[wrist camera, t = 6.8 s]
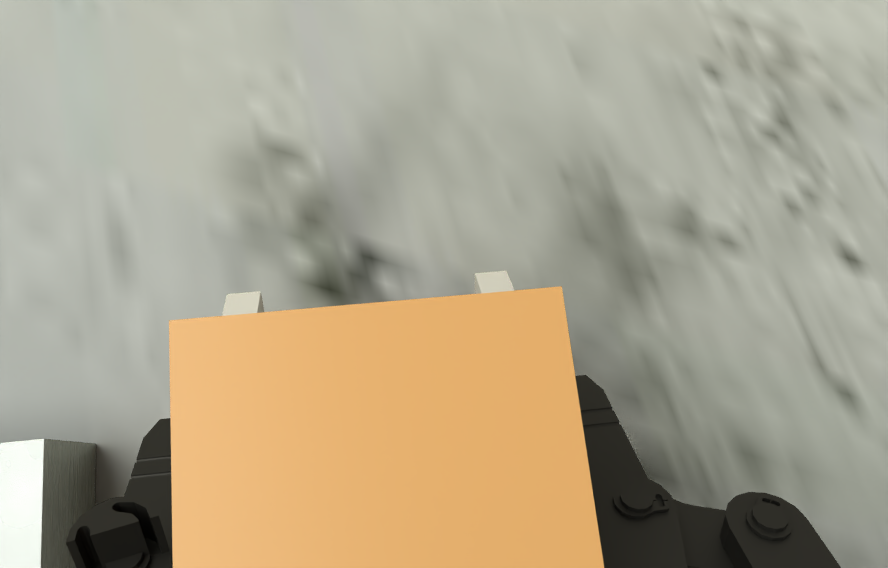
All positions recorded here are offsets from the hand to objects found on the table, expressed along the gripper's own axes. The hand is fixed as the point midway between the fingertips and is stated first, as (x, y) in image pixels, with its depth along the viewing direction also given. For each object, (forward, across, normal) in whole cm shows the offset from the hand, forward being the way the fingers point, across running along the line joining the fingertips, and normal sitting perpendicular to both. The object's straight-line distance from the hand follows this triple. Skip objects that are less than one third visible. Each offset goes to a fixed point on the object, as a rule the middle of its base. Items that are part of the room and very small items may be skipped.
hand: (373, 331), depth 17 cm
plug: (0, 0, -5) cm, 5 cm away
